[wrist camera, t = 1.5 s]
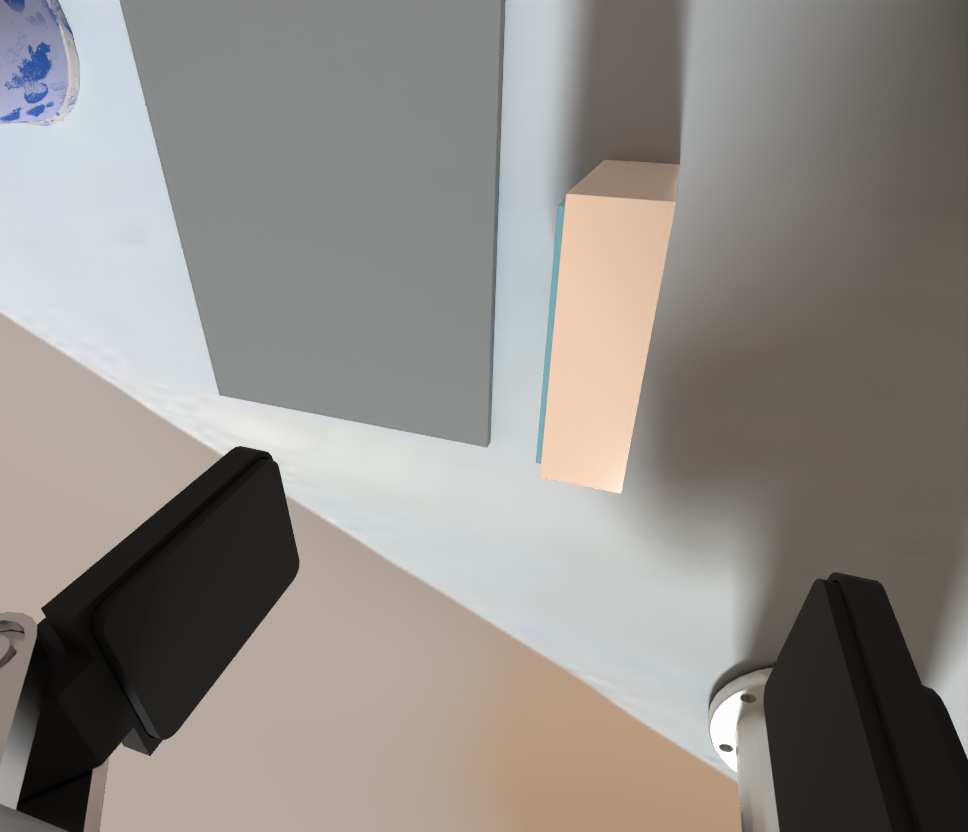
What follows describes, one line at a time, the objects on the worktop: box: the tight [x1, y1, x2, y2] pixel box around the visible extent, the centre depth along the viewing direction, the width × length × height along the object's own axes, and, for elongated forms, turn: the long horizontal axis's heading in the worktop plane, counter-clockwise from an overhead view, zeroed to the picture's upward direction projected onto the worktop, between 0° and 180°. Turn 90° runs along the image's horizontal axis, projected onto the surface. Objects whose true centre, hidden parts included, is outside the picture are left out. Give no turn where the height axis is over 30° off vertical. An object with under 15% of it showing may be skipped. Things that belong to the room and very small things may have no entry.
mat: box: [120, 0, 505, 447], centre depth 28 cm, size 22×18×1 cm
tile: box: [536, 160, 680, 494], centre depth 22 cm, size 10×3×9 cm, turn 178°
